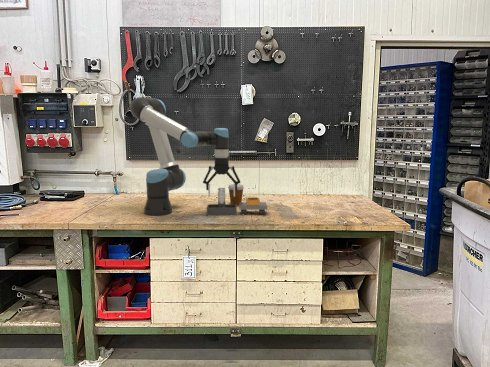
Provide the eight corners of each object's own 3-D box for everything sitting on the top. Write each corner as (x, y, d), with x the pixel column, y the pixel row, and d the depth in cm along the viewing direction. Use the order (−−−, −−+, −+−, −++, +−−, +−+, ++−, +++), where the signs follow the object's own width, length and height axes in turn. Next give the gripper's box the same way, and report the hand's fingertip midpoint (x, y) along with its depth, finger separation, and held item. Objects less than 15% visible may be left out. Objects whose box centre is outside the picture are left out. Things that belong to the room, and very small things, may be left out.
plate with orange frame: (239, 215, 202) (239, 200, 201) (239, 211, 211) (239, 197, 210) (267, 214, 203) (267, 200, 201) (265, 211, 212) (265, 197, 210)
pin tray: (206, 215, 201) (206, 207, 201) (207, 211, 210) (207, 204, 210) (236, 215, 202) (236, 207, 201) (236, 211, 211) (236, 204, 210)
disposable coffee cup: (231, 207, 221) (231, 187, 219) (225, 203, 229) (225, 184, 227) (246, 206, 224) (246, 186, 222) (240, 202, 233) (240, 183, 231)
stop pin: (218, 212, 204) (217, 189, 202) (218, 210, 208) (217, 187, 206) (225, 212, 204) (225, 189, 202) (225, 210, 208) (225, 187, 206)
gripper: (197, 157, 197) (198, 197, 201) (245, 157, 198) (244, 197, 201) (198, 156, 204) (199, 194, 208) (244, 156, 205) (244, 194, 209)
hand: (221, 196), depth 205 cm, fingers open, 13 cm apart
